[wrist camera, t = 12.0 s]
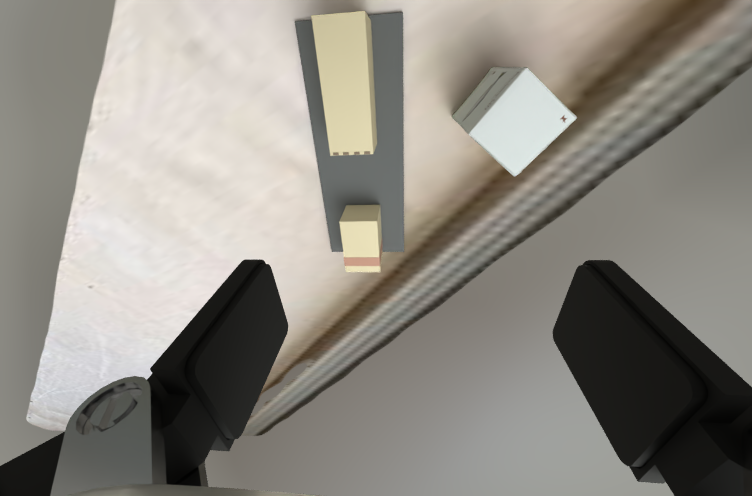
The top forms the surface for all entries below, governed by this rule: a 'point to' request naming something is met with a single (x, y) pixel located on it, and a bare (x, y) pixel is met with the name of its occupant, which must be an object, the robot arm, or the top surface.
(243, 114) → the top surface
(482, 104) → the supplement box
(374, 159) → the mat
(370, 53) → the block
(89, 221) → the top surface
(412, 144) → the top surface
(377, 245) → the stub
